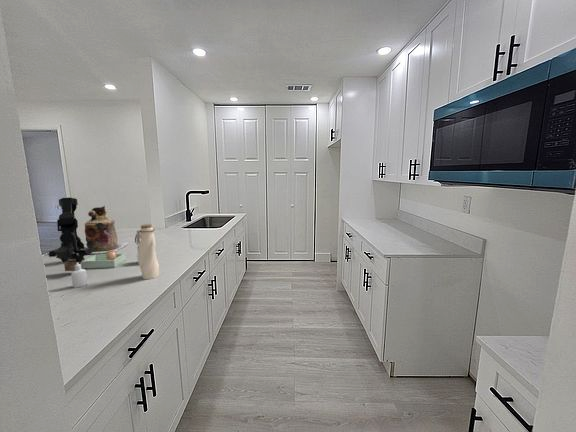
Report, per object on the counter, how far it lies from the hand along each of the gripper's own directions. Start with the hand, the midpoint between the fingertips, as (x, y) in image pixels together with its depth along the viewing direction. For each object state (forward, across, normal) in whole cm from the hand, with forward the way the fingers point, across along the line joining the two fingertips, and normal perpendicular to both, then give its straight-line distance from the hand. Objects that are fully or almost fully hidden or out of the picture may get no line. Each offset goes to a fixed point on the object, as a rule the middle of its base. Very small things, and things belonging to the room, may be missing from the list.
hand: (73, 267), depth 147 cm
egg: (+3, +13, +14) cm, 19 cm away
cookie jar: (+4, -9, +48) cm, 49 cm away
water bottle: (+4, +43, -10) cm, 44 cm away
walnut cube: (+1, 0, 0) cm, 1 cm away
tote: (+4, +9, +14) cm, 17 cm away
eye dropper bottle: (+4, +14, -18) cm, 23 cm away
